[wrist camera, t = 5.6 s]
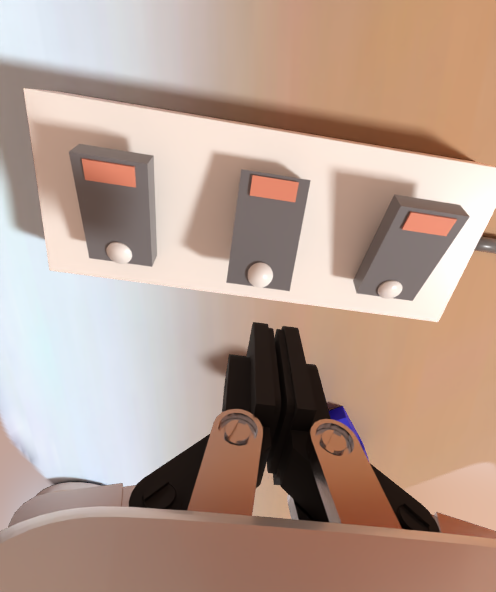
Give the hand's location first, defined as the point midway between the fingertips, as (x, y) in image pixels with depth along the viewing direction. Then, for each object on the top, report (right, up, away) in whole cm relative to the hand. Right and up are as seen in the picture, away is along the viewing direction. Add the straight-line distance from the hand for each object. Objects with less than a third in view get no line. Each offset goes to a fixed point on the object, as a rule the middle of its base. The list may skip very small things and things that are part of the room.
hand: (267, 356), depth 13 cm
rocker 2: (0, +6, +6) cm, 8 cm away
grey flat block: (+8, +5, +7) cm, 11 cm away
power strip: (+3, +8, +11) cm, 13 cm away
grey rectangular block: (-8, +7, +5) cm, 12 cm away
